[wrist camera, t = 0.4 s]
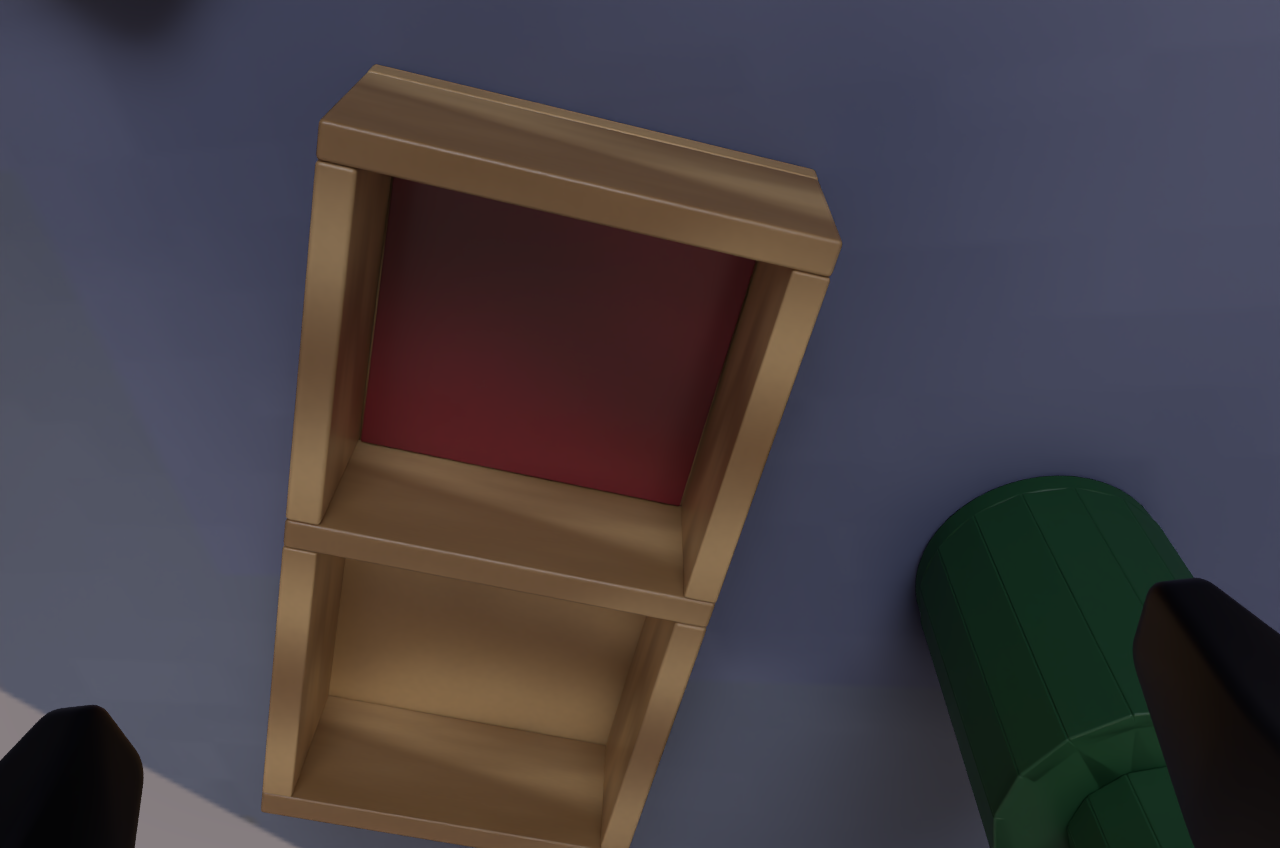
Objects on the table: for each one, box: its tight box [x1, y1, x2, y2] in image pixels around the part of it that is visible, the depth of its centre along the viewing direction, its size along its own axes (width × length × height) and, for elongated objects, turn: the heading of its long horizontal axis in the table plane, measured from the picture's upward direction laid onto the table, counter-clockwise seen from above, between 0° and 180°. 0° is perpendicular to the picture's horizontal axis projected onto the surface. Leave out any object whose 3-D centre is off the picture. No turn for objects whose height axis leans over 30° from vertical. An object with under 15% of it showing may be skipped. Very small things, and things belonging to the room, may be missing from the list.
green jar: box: [915, 476, 1195, 848], centre depth 23 cm, size 6×6×10 cm
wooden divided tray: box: [261, 64, 842, 848], centre depth 24 cm, size 17×9×4 cm, turn 167°
